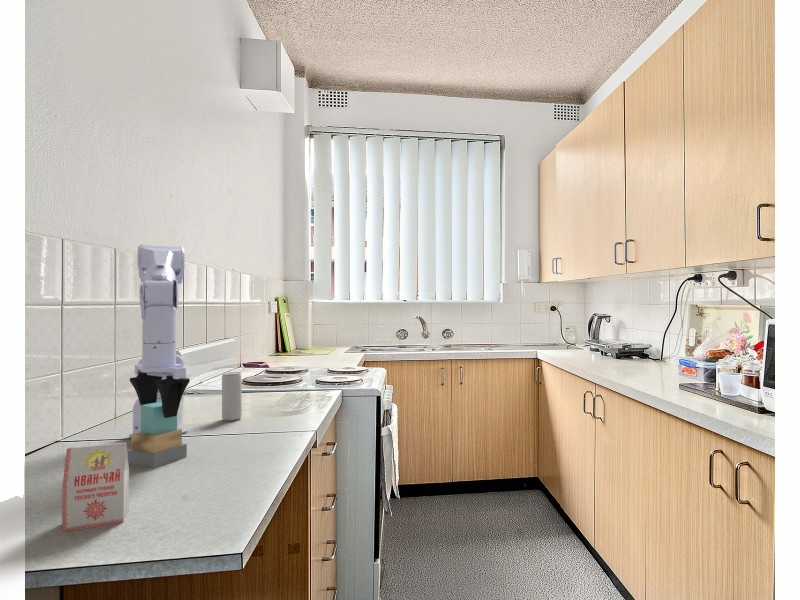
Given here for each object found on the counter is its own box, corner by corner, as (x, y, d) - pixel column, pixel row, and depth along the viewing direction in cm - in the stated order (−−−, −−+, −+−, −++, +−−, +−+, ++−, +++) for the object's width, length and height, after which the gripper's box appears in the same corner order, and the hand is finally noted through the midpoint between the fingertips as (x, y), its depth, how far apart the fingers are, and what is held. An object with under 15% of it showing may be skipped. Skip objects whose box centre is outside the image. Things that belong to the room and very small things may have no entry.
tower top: (131, 450, 85) (131, 434, 85) (158, 441, 91) (158, 426, 91) (154, 453, 83) (154, 436, 83) (181, 444, 89) (181, 428, 89)
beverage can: (235, 421, 117) (235, 374, 118) (218, 421, 118) (217, 374, 119) (245, 417, 122) (244, 372, 122) (228, 417, 123) (228, 371, 123)
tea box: (71, 519, 62) (71, 444, 62) (128, 511, 64) (129, 439, 64) (62, 531, 58) (62, 452, 59) (123, 522, 61) (123, 446, 61)
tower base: (127, 466, 85) (127, 450, 85) (160, 455, 91) (160, 440, 92) (154, 471, 82) (154, 454, 82) (186, 459, 89) (186, 444, 89)
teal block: (140, 431, 87) (141, 405, 87) (164, 426, 90) (164, 401, 91) (153, 435, 84) (153, 407, 84) (177, 429, 88) (177, 403, 88)
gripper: (201, 342, 87) (201, 414, 87) (159, 340, 95) (159, 406, 95) (164, 344, 81) (164, 422, 81) (123, 343, 89) (123, 413, 89)
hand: (159, 414), depth 88 cm, fingers open, 7 cm apart
